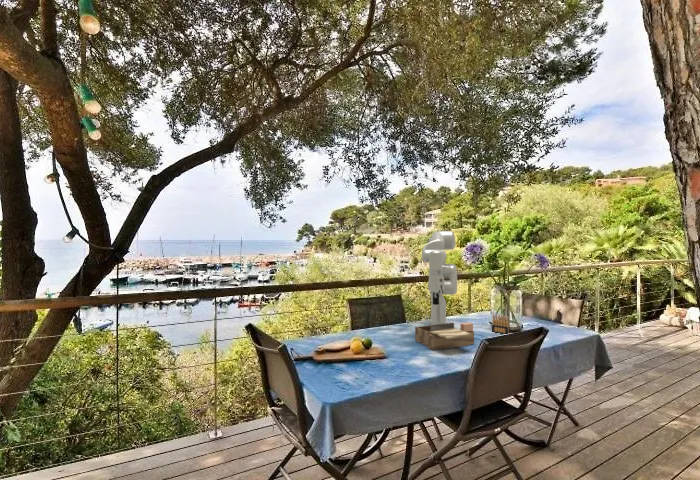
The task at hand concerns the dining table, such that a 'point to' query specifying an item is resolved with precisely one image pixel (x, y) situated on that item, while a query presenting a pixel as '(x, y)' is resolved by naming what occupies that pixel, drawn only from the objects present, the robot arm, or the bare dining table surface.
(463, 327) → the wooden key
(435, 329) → the toolbox lid
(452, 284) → the robot arm
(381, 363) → the dining table surface
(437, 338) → the toolbox
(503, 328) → the ammunition clip
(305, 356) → the dining table surface
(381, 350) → the dining table surface
